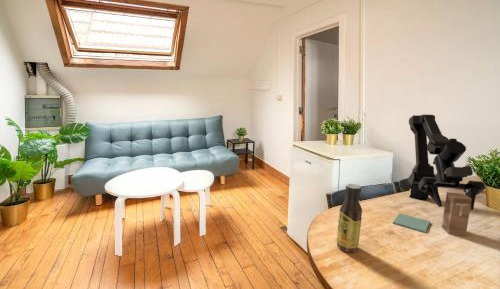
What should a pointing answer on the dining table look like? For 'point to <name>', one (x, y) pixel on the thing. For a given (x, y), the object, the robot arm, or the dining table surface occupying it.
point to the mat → (411, 222)
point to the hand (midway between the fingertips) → (456, 208)
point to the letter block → (456, 213)
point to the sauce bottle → (350, 220)
